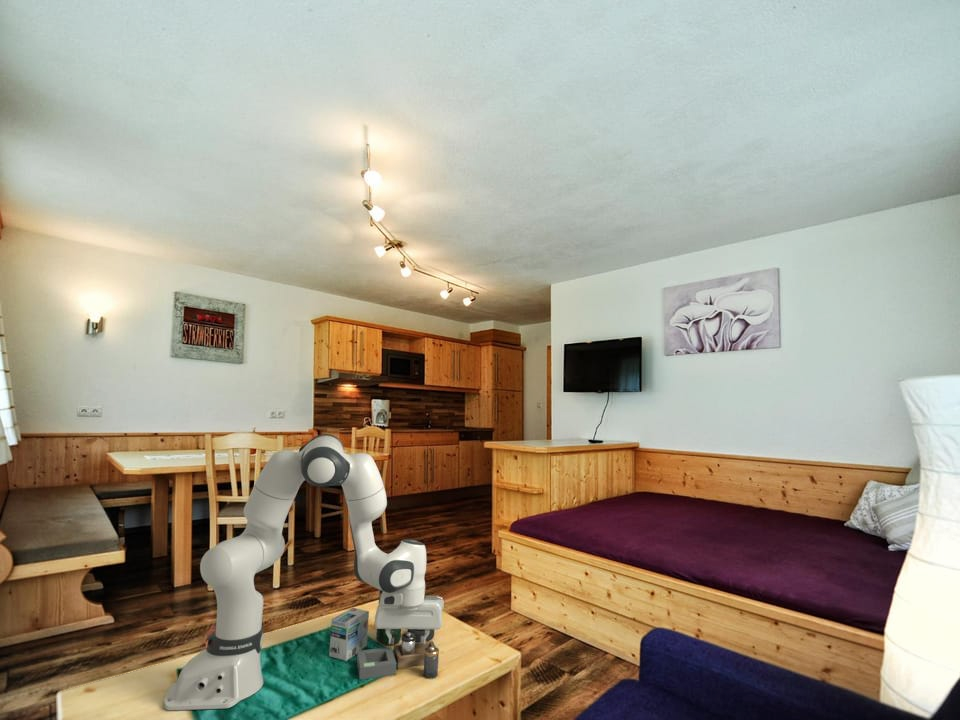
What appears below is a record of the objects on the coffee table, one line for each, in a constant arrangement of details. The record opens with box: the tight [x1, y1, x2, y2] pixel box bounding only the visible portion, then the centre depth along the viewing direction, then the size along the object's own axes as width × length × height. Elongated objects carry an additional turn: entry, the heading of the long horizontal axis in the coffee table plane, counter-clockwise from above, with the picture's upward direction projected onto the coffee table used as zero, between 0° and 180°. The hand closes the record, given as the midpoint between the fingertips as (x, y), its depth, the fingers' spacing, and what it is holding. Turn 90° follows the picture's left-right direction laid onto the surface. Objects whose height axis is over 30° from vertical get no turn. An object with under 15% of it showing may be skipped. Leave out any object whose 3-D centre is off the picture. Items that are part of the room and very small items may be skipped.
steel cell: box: [401, 632, 416, 656], centre depth 144 cm, size 4×4×7 cm
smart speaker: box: [406, 629, 435, 643], centre depth 159 cm, size 9×9×4 cm
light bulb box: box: [328, 607, 370, 662], centre depth 148 cm, size 11×7×11 cm, turn 158°
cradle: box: [356, 646, 397, 680], centre depth 139 cm, size 10×10×3 cm
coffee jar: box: [376, 589, 402, 646], centre depth 158 cm, size 10×8×19 cm
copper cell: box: [422, 646, 440, 679], centre depth 137 cm, size 4×4×7 cm
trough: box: [393, 640, 436, 670], centre depth 144 cm, size 12×8×3 cm, turn 108°
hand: (407, 643), depth 144 cm, fingers open, 8 cm apart
